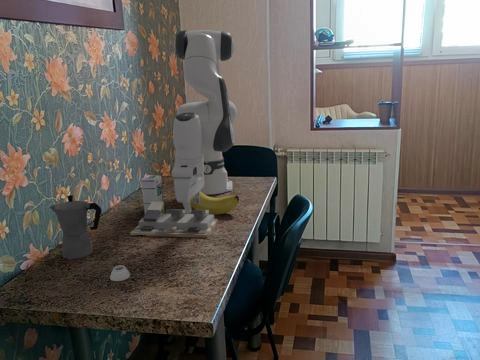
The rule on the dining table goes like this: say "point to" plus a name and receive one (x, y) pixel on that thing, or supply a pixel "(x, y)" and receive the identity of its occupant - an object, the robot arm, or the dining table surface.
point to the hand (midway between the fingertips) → (192, 208)
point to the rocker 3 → (199, 213)
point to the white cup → (119, 273)
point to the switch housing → (180, 221)
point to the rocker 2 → (175, 212)
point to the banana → (216, 204)
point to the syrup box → (152, 190)
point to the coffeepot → (76, 227)
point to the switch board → (174, 231)
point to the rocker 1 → (153, 211)
